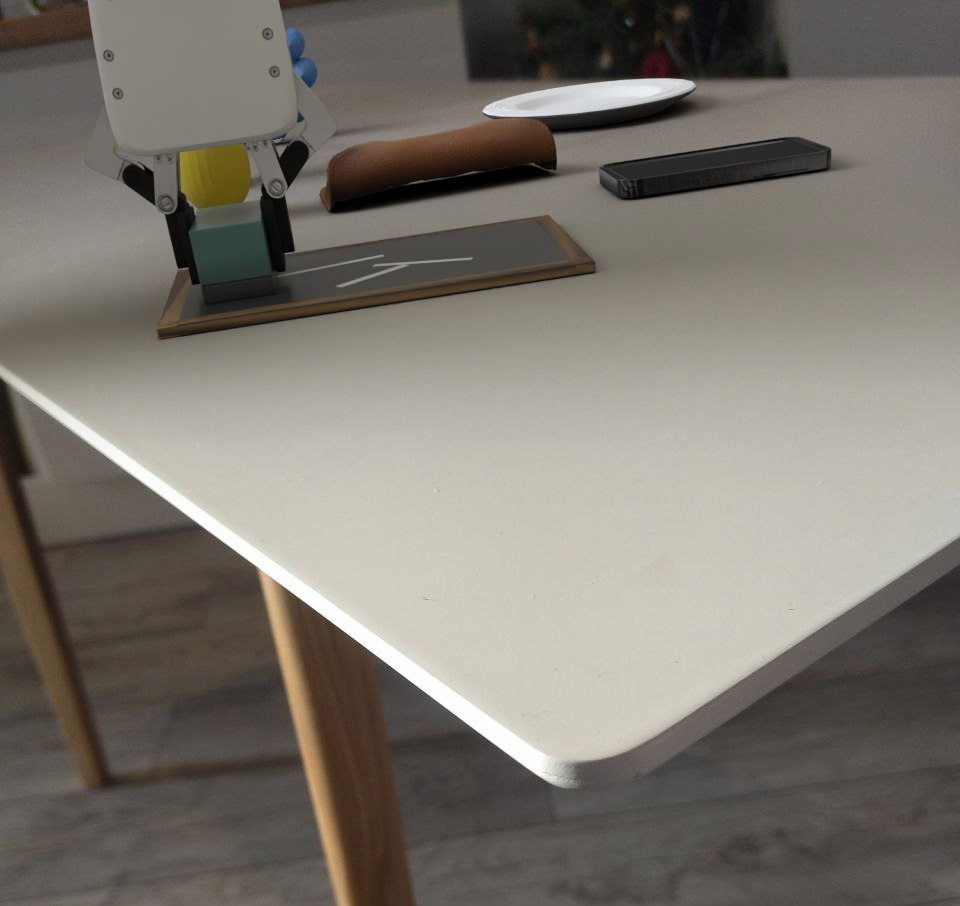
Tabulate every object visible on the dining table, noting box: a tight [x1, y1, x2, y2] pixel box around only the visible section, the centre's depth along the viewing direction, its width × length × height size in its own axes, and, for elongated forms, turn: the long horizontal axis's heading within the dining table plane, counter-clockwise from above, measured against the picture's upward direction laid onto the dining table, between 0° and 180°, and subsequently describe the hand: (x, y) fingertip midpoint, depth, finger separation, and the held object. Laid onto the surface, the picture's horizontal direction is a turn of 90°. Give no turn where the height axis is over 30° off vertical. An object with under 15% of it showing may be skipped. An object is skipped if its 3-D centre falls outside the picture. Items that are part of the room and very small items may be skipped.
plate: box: [482, 77, 697, 130], centre depth 119 cm, size 21×21×2 cm
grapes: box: [244, 27, 318, 144], centre depth 127 cm, size 12×7×12 cm, turn 95°
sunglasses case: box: [318, 118, 558, 212], centre depth 95 cm, size 18×7×7 cm
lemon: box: [180, 143, 252, 210], centre depth 92 cm, size 6×6×8 cm
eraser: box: [189, 199, 277, 304], centre depth 71 cm, size 7×4×4 cm, turn 8°
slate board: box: [155, 214, 597, 340], centre depth 72 cm, size 24×14×1 cm, turn 98°
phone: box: [598, 136, 832, 199], centre depth 86 cm, size 8×1×15 cm
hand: (239, 269), depth 71 cm, fingers closed on eraser, 4 cm apart
